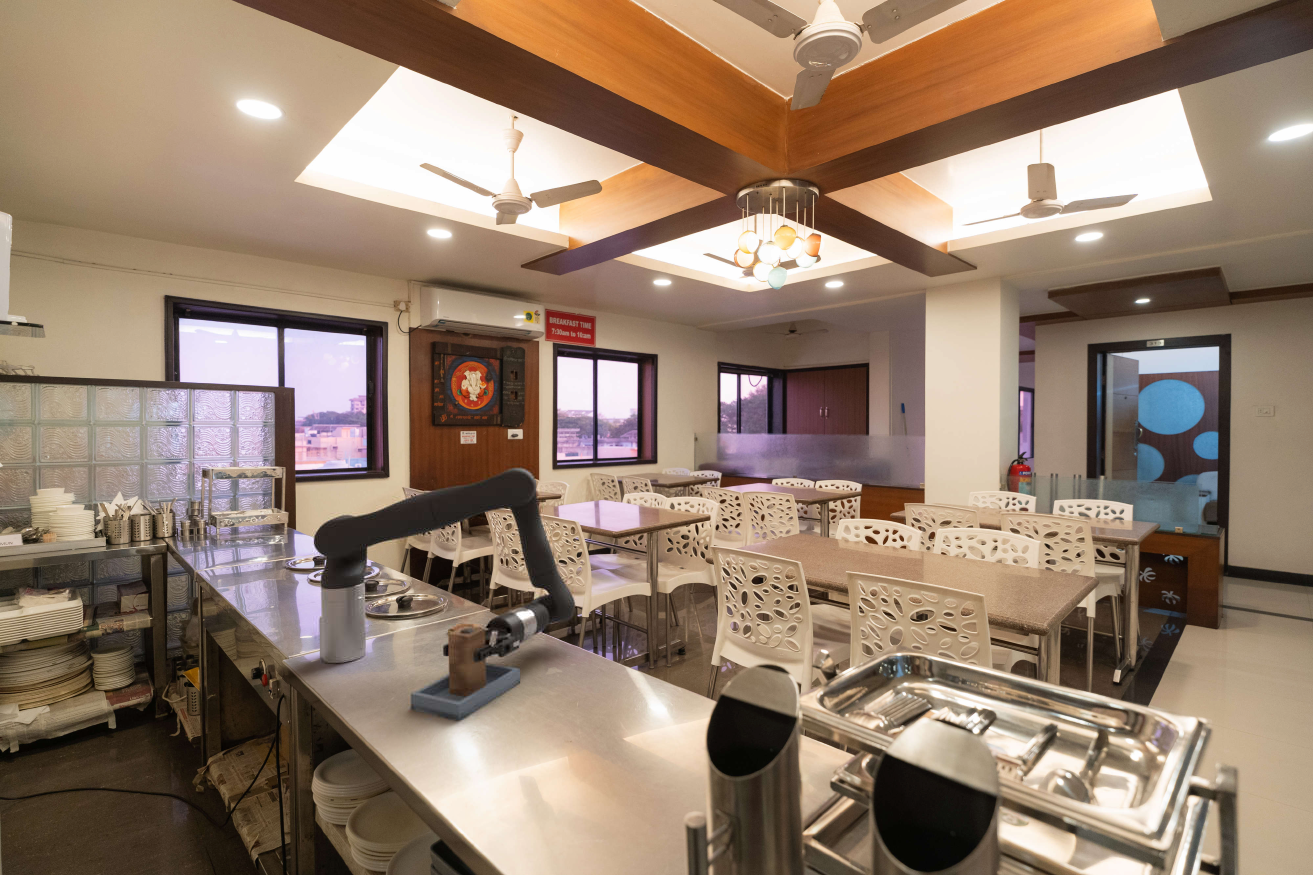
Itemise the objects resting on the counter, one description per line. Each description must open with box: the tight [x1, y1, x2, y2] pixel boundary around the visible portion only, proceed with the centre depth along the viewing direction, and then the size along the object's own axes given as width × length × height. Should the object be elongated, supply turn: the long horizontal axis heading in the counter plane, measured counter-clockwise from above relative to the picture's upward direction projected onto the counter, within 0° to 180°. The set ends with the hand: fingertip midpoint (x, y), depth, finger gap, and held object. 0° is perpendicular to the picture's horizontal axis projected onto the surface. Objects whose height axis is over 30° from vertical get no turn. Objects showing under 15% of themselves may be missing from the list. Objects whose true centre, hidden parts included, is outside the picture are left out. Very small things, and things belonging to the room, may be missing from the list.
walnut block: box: [447, 626, 487, 697], centre depth 122 cm, size 5×5×12 cm
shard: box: [447, 622, 482, 634], centre depth 158 cm, size 11×8×2 cm
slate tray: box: [410, 662, 521, 722], centre depth 122 cm, size 12×18×3 cm, turn 156°
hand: (459, 654), depth 120 cm, fingers open, 7 cm apart
